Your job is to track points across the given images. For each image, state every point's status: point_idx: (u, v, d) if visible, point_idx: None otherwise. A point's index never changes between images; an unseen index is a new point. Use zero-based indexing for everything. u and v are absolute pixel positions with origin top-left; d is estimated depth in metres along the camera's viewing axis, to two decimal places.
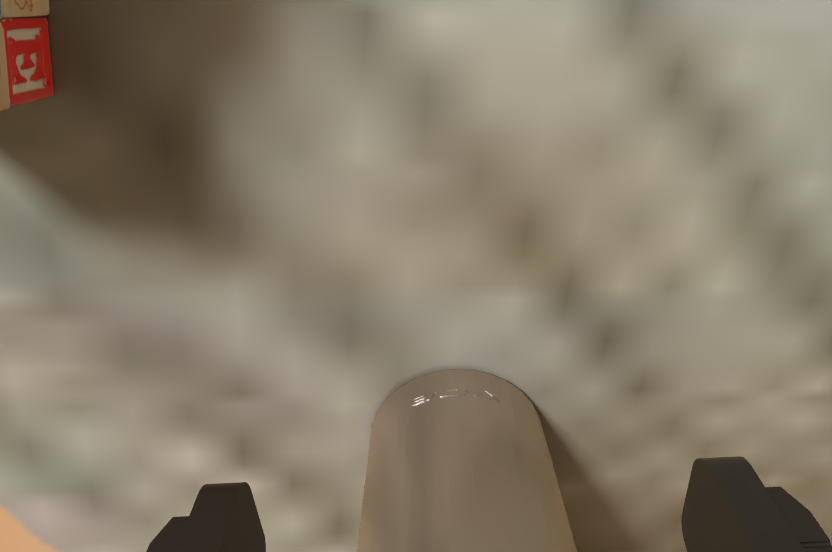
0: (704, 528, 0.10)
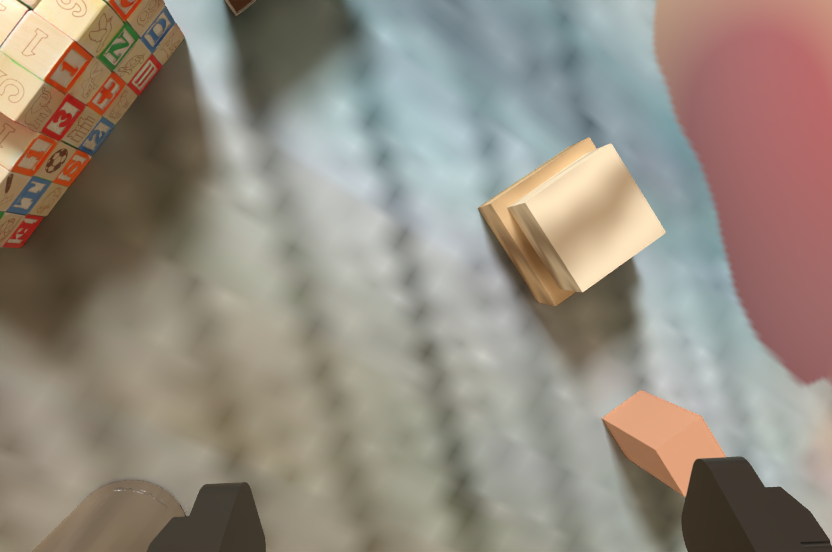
0: (704, 528, 0.10)
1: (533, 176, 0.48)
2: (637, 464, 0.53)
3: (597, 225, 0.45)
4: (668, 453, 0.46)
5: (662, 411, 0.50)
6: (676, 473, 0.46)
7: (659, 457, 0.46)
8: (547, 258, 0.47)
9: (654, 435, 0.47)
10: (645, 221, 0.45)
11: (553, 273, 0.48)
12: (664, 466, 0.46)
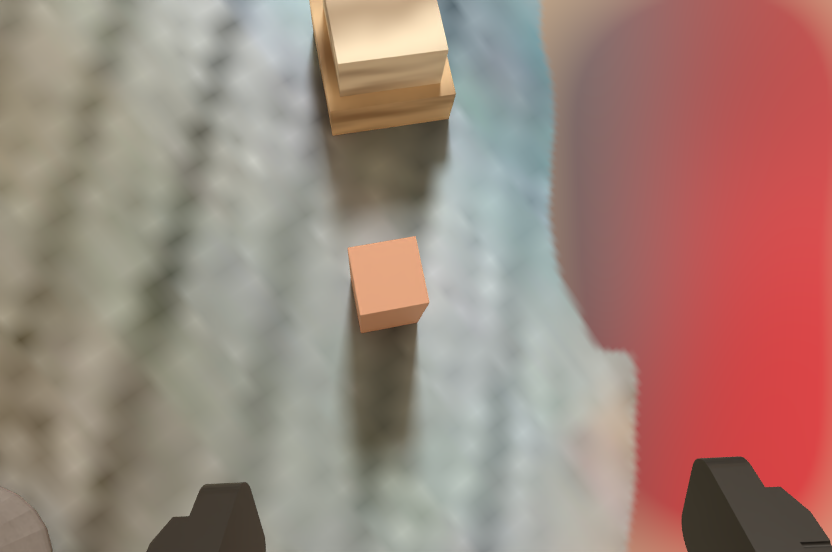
0: (704, 528, 0.10)
1: None
2: (360, 328, 0.45)
3: (381, 13, 0.43)
4: (361, 258, 0.39)
5: None
6: (360, 284, 0.38)
7: (349, 258, 0.39)
8: (332, 49, 0.45)
9: None
10: (431, 31, 0.43)
11: (336, 72, 0.46)
12: (352, 274, 0.39)
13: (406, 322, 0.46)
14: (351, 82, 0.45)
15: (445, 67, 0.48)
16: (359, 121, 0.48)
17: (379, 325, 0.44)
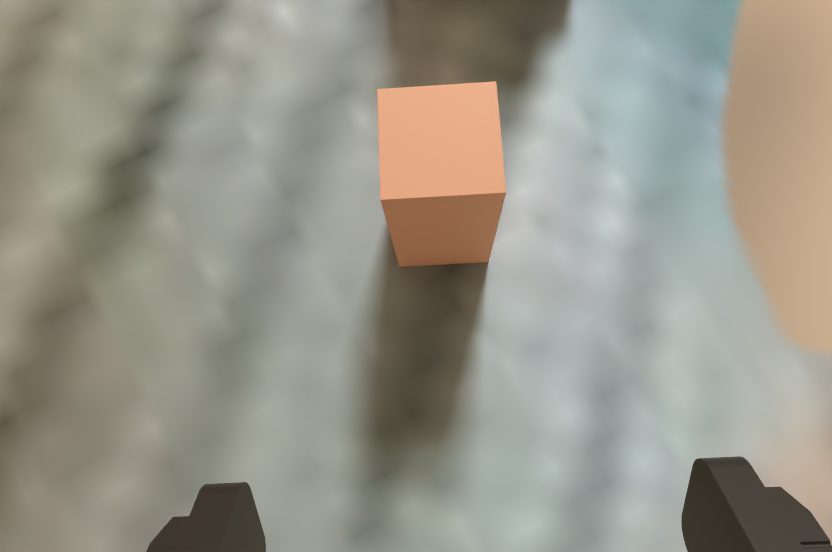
0: (704, 528, 0.10)
1: None
2: None
3: None
4: (397, 107, 0.22)
5: None
6: (389, 149, 0.22)
7: (378, 107, 0.23)
8: None
9: None
10: None
11: None
12: None
13: (470, 255, 0.29)
14: None
15: None
16: None
17: (425, 250, 0.28)
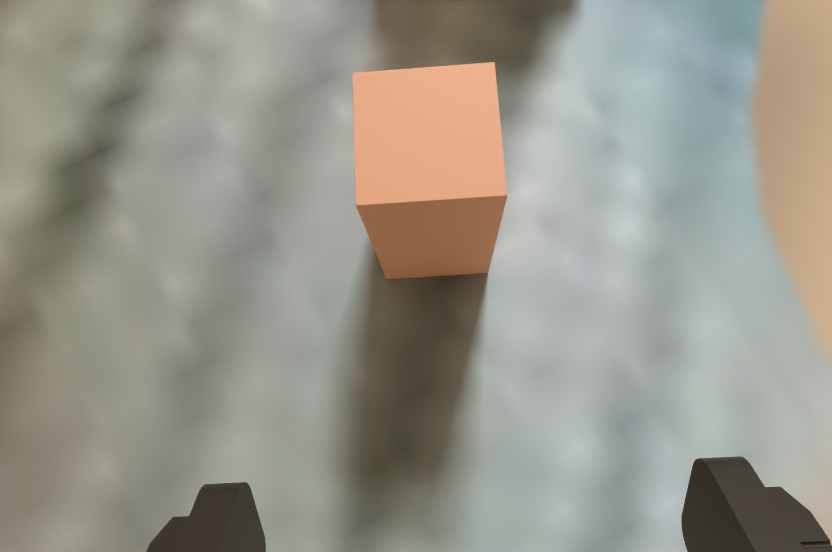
0: (704, 528, 0.10)
1: None
2: (381, 264, 0.25)
3: None
4: (375, 94, 0.19)
5: None
6: (367, 144, 0.18)
7: (353, 94, 0.19)
8: None
9: None
10: None
11: None
12: None
13: (467, 266, 0.25)
14: None
15: None
16: None
17: (414, 261, 0.24)
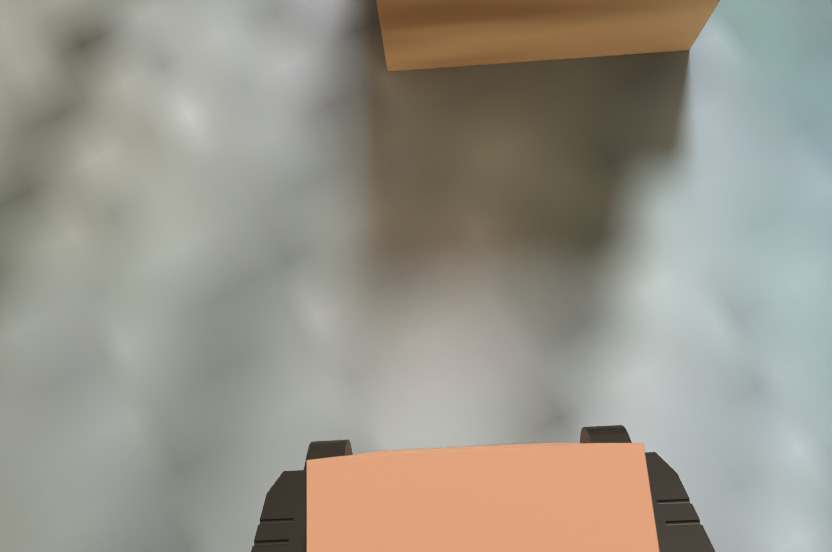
0: None
1: None
2: None
3: None
4: (361, 524, 0.08)
5: None
6: None
7: (308, 517, 0.08)
8: None
9: None
10: None
11: None
12: None
13: None
14: None
15: None
16: (457, 30, 0.18)
17: None
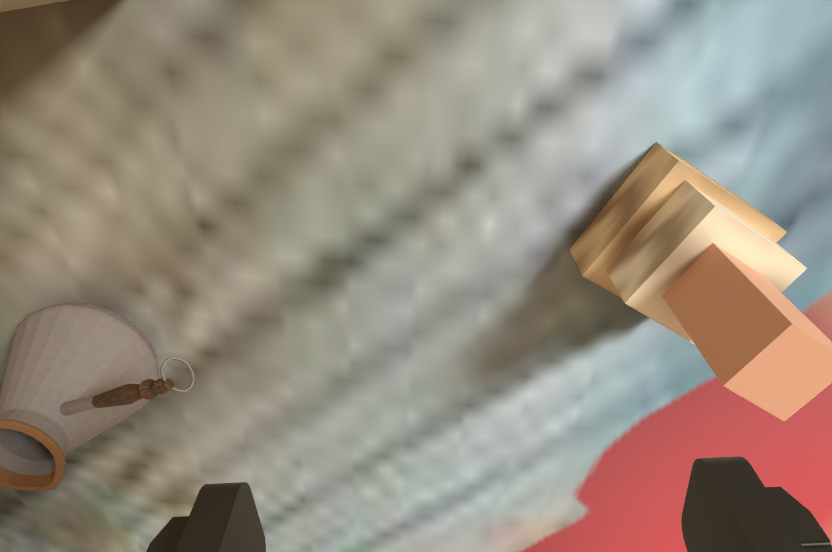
0: (704, 528, 0.10)
1: (724, 193, 0.40)
2: (674, 311, 0.37)
3: None
4: (789, 342, 0.29)
5: (797, 313, 0.33)
6: (757, 363, 0.30)
7: (779, 333, 0.29)
8: (642, 248, 0.40)
9: (788, 314, 0.31)
10: None
11: (624, 259, 0.41)
12: (762, 344, 0.30)
13: None
14: None
15: None
16: None
17: None
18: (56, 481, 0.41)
